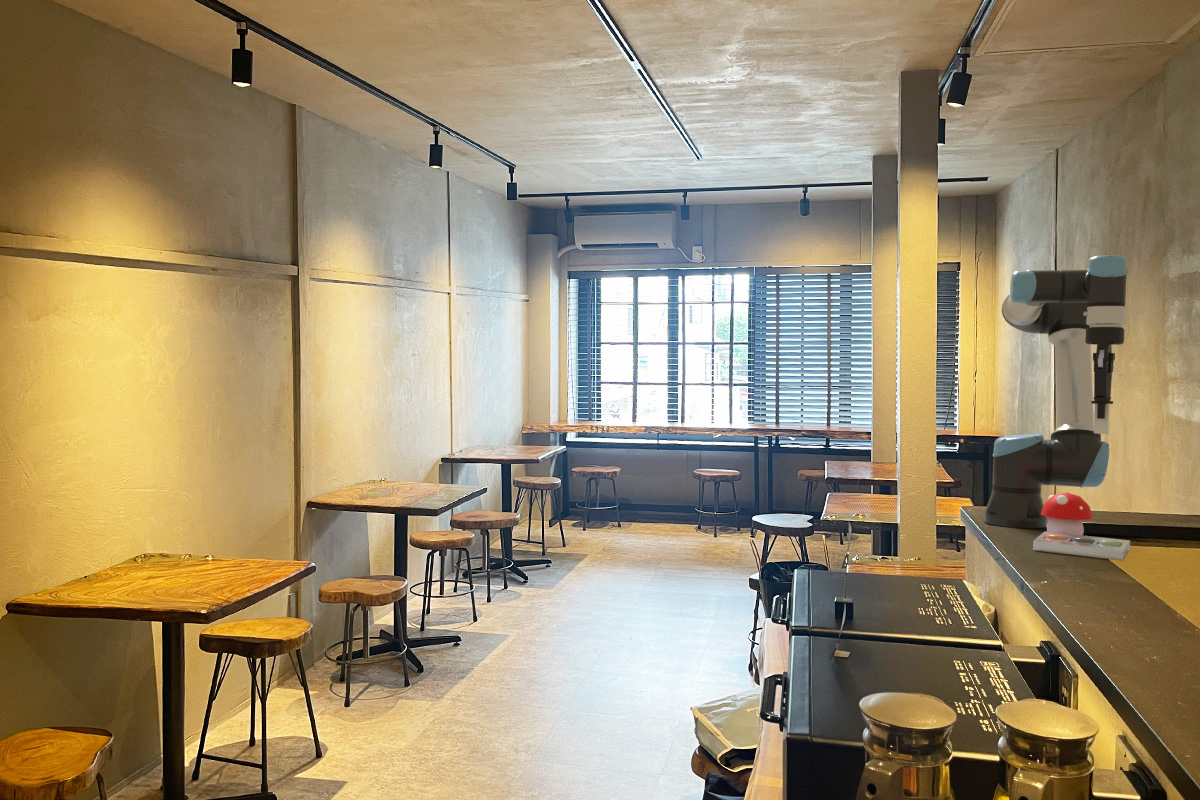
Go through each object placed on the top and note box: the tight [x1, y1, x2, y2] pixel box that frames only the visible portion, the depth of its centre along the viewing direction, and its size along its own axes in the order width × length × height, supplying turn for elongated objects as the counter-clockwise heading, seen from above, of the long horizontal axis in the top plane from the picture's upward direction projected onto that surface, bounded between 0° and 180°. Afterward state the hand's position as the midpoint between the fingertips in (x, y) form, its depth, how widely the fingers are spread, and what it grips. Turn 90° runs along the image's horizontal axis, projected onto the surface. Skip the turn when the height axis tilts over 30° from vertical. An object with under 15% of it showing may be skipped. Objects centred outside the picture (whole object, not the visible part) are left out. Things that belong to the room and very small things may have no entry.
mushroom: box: [1041, 492, 1094, 536], centre depth 216 cm, size 11×11×12 cm
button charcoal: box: [1072, 536, 1093, 544], centre depth 202 cm, size 4×4×2 cm
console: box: [1032, 531, 1131, 562], centre depth 202 cm, size 14×17×4 cm
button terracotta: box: [1045, 534, 1066, 541], centre depth 204 cm, size 4×4×2 cm
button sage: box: [1099, 539, 1120, 547], centre depth 199 cm, size 4×4×2 cm
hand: (1101, 433), depth 206 cm, fingers closed
